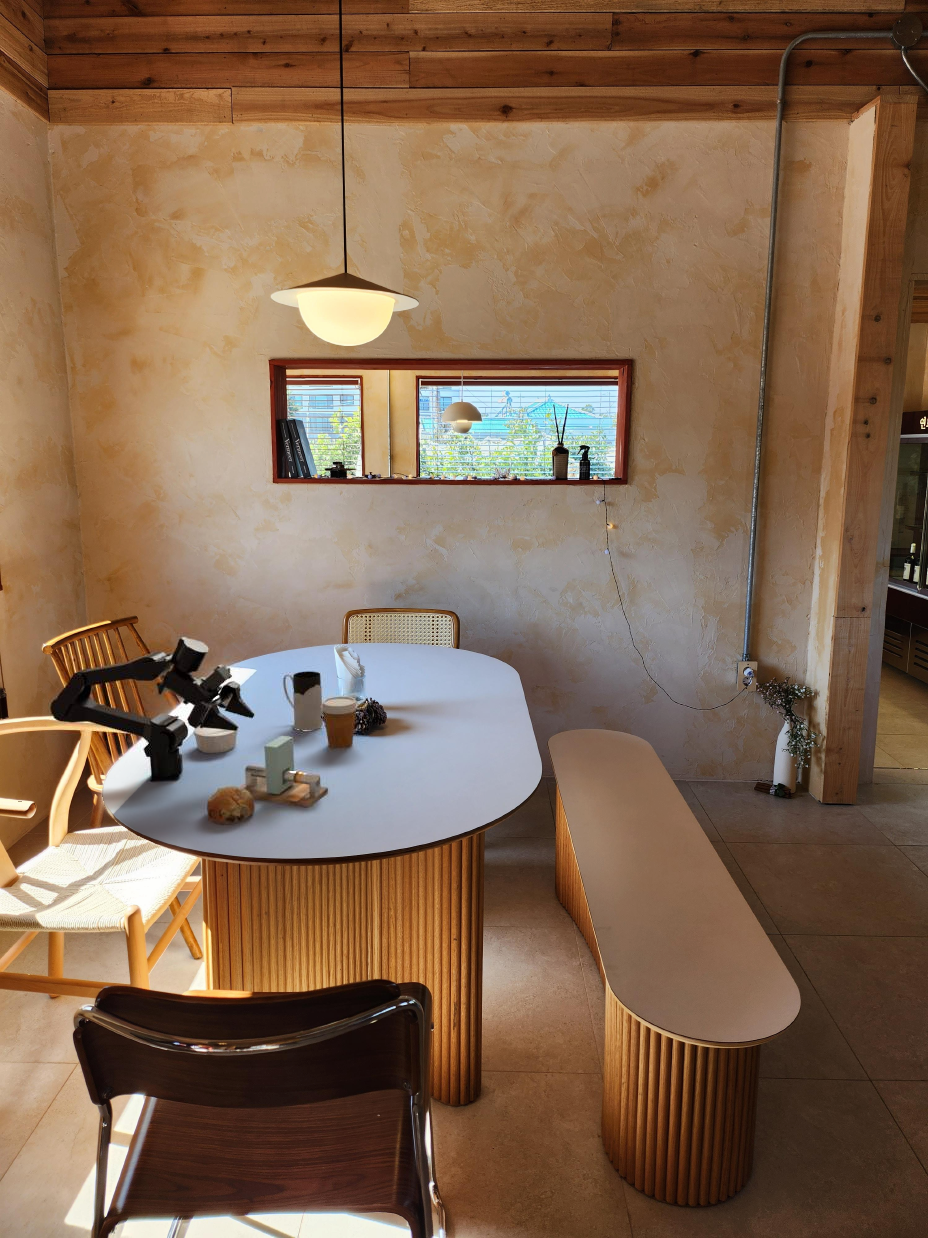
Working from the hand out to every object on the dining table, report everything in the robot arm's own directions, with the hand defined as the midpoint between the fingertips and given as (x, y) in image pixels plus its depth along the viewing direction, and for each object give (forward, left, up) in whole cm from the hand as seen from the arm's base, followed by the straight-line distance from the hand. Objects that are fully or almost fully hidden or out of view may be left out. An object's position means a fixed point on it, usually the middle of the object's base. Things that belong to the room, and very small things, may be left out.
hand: (245, 722), depth 193 cm
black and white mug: (+12, +40, -15) cm, 44 cm away
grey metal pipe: (+8, -9, -13) cm, 18 cm away
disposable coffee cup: (+22, +21, -15) cm, 34 cm away
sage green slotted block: (+8, -9, -13) cm, 17 cm away
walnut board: (+8, -9, -14) cm, 19 cm away
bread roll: (-3, -18, -15) cm, 24 cm away
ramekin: (-10, +25, -15) cm, 31 cm away
